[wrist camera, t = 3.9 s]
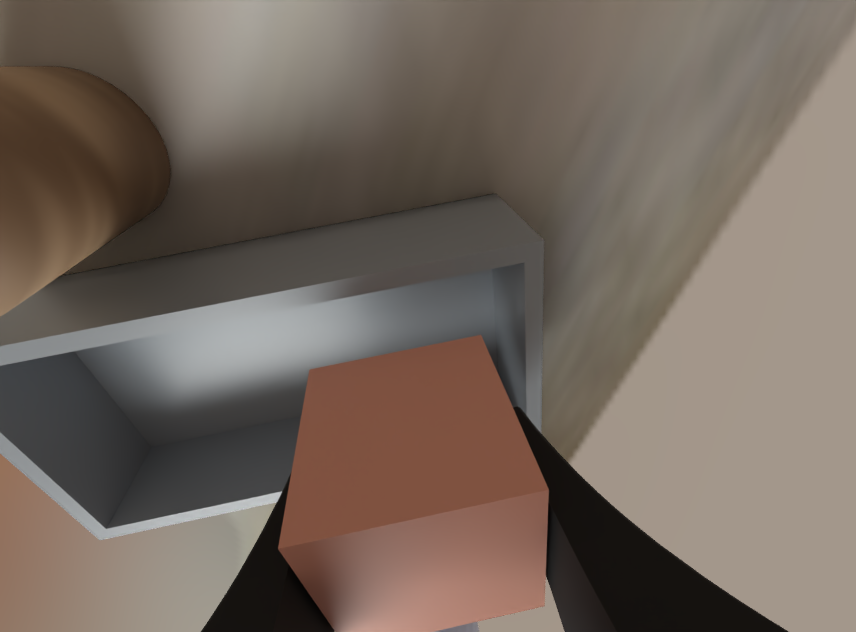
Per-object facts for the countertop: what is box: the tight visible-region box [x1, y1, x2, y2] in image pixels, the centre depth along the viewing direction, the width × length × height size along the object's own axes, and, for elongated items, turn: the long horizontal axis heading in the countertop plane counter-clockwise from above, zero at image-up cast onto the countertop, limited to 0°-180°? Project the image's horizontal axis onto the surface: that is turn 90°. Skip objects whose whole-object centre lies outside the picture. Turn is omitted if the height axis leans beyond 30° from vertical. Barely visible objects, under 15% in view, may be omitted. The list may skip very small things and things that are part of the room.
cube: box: [278, 335, 549, 632], centre depth 11 cm, size 5×5×5 cm
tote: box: [0, 194, 544, 540], centre depth 16 cm, size 9×18×5 cm, turn 98°
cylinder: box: [0, 66, 170, 317], centre depth 10 cm, size 5×5×7 cm
